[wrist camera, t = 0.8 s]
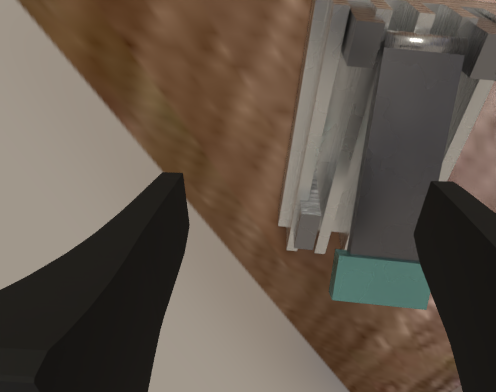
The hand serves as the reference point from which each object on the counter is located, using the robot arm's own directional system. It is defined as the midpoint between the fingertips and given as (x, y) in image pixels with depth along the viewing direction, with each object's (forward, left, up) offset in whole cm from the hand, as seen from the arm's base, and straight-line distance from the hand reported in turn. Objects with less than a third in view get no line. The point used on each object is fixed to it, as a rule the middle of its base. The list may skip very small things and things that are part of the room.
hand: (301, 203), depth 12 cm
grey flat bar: (-4, +2, -5) cm, 7 cm away
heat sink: (-4, +2, -10) cm, 12 cm away
